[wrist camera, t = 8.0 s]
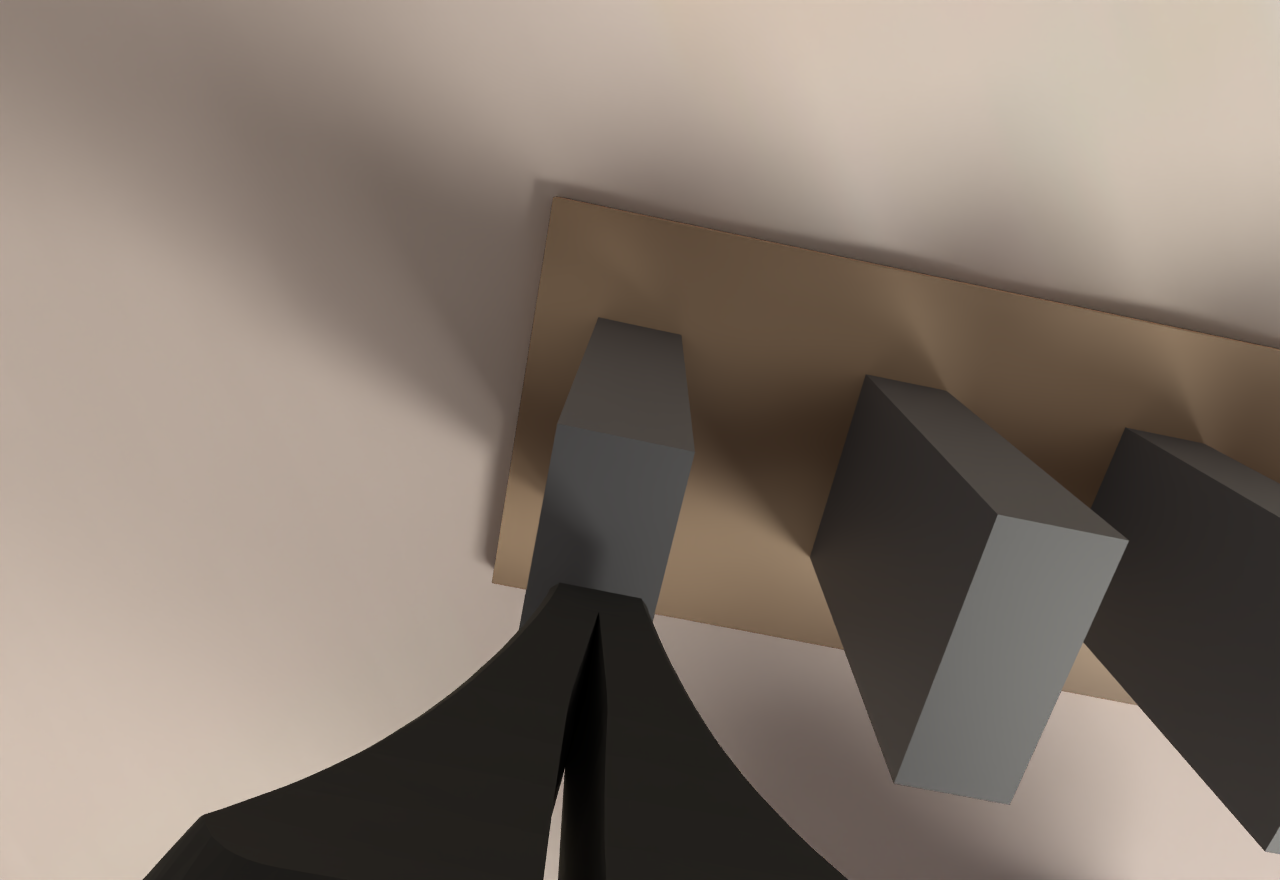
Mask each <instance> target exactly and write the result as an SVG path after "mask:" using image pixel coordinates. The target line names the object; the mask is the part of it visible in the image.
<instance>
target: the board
mask: <svg viewBox="0 0 1280 880" xmlns="http://www.w3.org/2000/svg"><path fill="white" fill-rule="evenodd" d="M598 317H600V318H605V319H609V320H614V321H619V322H623V323H628V324H633V325H637V326H642V327H647V328H652V329H656V330H661V331H666V332H670V333H675V334H680V335H681V336H682V344H683V353H684V362H685V370H686V379H687V388H688V396H689V405H690V413H691V422H692V431H693V439H694V448H695V454H694V458H693V462H692V466H691V470H690V474H689V478H688V482H687V486H686V490H685V494H684V498H683V502H682V506H681V510H680V514H679V518H678V522H677V526H676V530H675V534H674V538H673V542H672V546H671V550H670V554H669V558H668V562H667V566H666V570H665V574H664V578H663V582H662V586H661V590H660V594H659V598H658V602H657V606H656V610H655V614H658V615H663V616H669V617H674V618H679V619H685V620H690V621H695V622H700V623H706V624H711V625H716V626H721V627H727V628H732V629H737V630H743V631H748V632H753V633H758V634H764V635H769V636H774V637H780V638H785V639H790V640H795V641H801V642H806V643H811V644H817V645H822V646H827V647H832V648H838V649H843V650H844V648H843V645H842V643H841V640H840V637H839V635H838V632H837V629H836V626H835V624H834V621H833V618H832V616H831V613H830V610H829V608H828V605H827V602H826V600H825V597H824V594H823V591H822V589H821V586H820V583H819V581H818V578H817V575H816V573H815V570H814V567H813V565H812V562H811V559H810V555H811V552H812V549H813V545H814V542H815V539H816V536H817V532H818V529H819V526H820V522H821V519H822V516H823V513H824V509H825V506H826V503H827V500H828V496H829V493H830V490H831V486H832V483H833V480H834V477H835V473H836V470H837V467H838V464H839V460H840V457H841V454H842V450H843V447H844V444H845V441H846V437H847V434H848V431H849V428H850V424H851V421H852V418H853V415H854V411H855V408H856V405H857V401H858V398H859V395H860V392H861V388H862V385H863V382H864V379H865V375H866V374H867V375H872V376H877V377H882V378H887V379H892V380H897V381H901V382H906V383H911V384H916V385H921V386H926V387H931V388H936V389H940V390H945V391H947V392H949V393H950V394H951V395H952V396H954V397H955V398H956V399H957V400H958V401H960V402H961V403H962V404H963V405H964V406H966V407H967V408H968V409H969V410H971V411H972V412H973V413H974V414H975V415H977V416H978V417H979V418H980V419H982V420H983V421H984V422H985V423H986V424H988V425H989V426H990V427H991V428H993V429H994V430H995V431H996V432H997V433H999V434H1000V435H1001V436H1002V437H1003V438H1005V439H1006V440H1007V441H1008V442H1010V443H1011V444H1012V445H1013V446H1014V447H1016V448H1017V449H1018V450H1019V451H1021V452H1022V453H1023V454H1024V455H1025V456H1027V457H1028V458H1029V459H1030V460H1031V461H1033V462H1034V463H1035V464H1036V465H1038V466H1039V467H1040V468H1041V469H1042V470H1044V471H1045V472H1046V473H1047V474H1049V475H1050V476H1051V477H1052V478H1053V479H1055V480H1056V481H1057V482H1058V483H1060V484H1061V485H1062V486H1063V487H1064V488H1066V489H1067V490H1068V491H1069V492H1070V493H1072V494H1073V495H1074V496H1075V497H1077V498H1078V499H1079V500H1080V501H1081V502H1083V503H1084V504H1085V505H1086V506H1088V507H1089V508H1090V509H1091V507H1092V504H1093V502H1094V500H1095V497H1096V495H1097V493H1098V490H1099V488H1100V486H1101V483H1102V481H1103V479H1104V476H1105V474H1106V472H1107V469H1108V467H1109V465H1110V462H1111V460H1112V458H1113V455H1114V453H1115V451H1116V448H1117V446H1118V443H1119V441H1120V439H1121V436H1122V434H1123V432H1124V429H1125V427H1126V428H1131V429H1136V430H1140V431H1145V432H1150V433H1155V434H1160V435H1165V436H1170V437H1175V438H1180V439H1184V440H1189V441H1194V442H1199V443H1204V444H1206V445H1208V446H1209V447H1211V448H1213V449H1215V450H1217V451H1219V452H1221V453H1223V454H1225V455H1226V456H1228V457H1230V458H1232V459H1234V460H1236V461H1238V462H1240V463H1242V464H1243V465H1245V466H1247V467H1249V468H1251V469H1253V470H1255V471H1257V472H1259V473H1261V474H1262V475H1264V476H1266V477H1268V478H1270V479H1272V480H1274V481H1276V482H1278V483H1279V484H1280V349H1277V348H1272V347H1267V346H1262V345H1258V344H1253V343H1248V342H1244V341H1239V340H1234V339H1229V338H1225V337H1220V336H1215V335H1210V334H1206V333H1201V332H1196V331H1191V330H1187V329H1182V328H1177V327H1173V326H1168V325H1163V324H1158V323H1154V322H1149V321H1144V320H1139V319H1135V318H1130V317H1125V316H1120V315H1116V314H1111V313H1106V312H1102V311H1097V310H1092V309H1087V308H1083V307H1078V306H1073V305H1068V304H1064V303H1059V302H1054V301H1049V300H1045V299H1040V298H1035V297H1031V296H1026V295H1021V294H1016V293H1012V292H1007V291H1002V290H997V289H993V288H988V287H983V286H978V285H974V284H969V283H964V282H959V281H955V280H950V279H945V278H941V277H936V276H931V275H926V274H922V273H917V272H912V271H907V270H903V269H898V268H893V267H888V266H884V265H879V264H874V263H870V262H865V261H860V260H855V259H851V258H846V257H841V256H836V255H832V254H827V253H822V252H817V251H813V250H808V249H803V248H799V247H794V246H789V245H784V244H780V243H775V242H770V241H765V240H761V239H756V238H751V237H746V236H742V235H737V234H732V233H727V232H723V231H718V230H713V229H709V228H704V227H699V226H694V225H690V224H685V223H680V222H675V221H671V220H666V219H661V218H656V217H652V216H647V215H642V214H638V213H633V212H628V211H623V210H619V209H614V208H609V207H604V206H600V205H595V204H590V203H585V202H581V201H576V200H571V199H567V198H562V197H557V196H556V197H553V201H552V208H551V214H550V220H549V226H548V233H547V239H546V245H545V252H544V258H543V264H542V270H541V277H540V283H539V289H538V296H537V302H536V308H535V314H534V321H533V327H532V333H531V340H530V346H529V352H528V358H527V365H526V371H525V377H524V384H523V390H522V396H521V402H520V409H519V415H518V421H517V428H516V434H515V440H514V446H513V453H512V459H511V465H510V472H509V478H508V484H507V490H506V497H505V503H504V509H503V516H502V522H501V528H500V534H499V541H498V547H497V553H496V560H495V566H494V572H493V579H492V583H494V584H500V585H505V586H510V587H516V588H521V589H527V584H528V578H529V573H530V567H531V562H532V557H533V551H534V546H535V541H536V535H537V530H538V524H539V519H540V514H541V508H542V503H543V498H544V492H545V487H546V481H547V476H548V471H549V465H550V460H551V454H552V449H553V444H554V438H555V433H556V428H557V423H558V420H559V418H560V415H561V413H562V410H563V407H564V405H565V402H566V400H567V397H568V394H569V392H570V389H571V387H572V384H573V381H574V379H575V376H576V374H577V371H578V369H579V366H580V363H581V361H582V358H583V356H584V353H585V350H586V348H587V345H588V343H589V340H590V338H591V335H592V332H593V330H594V327H595V325H596V322H597V319H598ZM1061 691H1065V692H1070V693H1075V694H1081V695H1086V696H1091V697H1096V698H1102V699H1107V700H1112V701H1117V702H1123V703H1128V704H1133V705H1137V704H1136V702H1135V701H1134V700H1133V699H1132V698H1131V697H1130V696H1129V694H1128V693H1127V692H1126V691H1125V690H1124V689H1123V688H1122V686H1121V685H1120V684H1119V683H1118V682H1117V681H1116V679H1115V678H1114V677H1113V676H1112V675H1111V674H1110V673H1109V671H1108V670H1107V669H1106V668H1105V667H1104V666H1103V664H1102V663H1101V662H1100V661H1099V660H1098V659H1097V658H1096V656H1095V655H1094V654H1093V653H1092V652H1091V651H1090V650H1089V648H1088V647H1087V646H1086V645H1085V644H1084V643H1083V644H1082V646H1081V648H1080V650H1079V653H1078V655H1077V657H1076V659H1075V661H1074V664H1073V666H1072V668H1071V670H1070V673H1069V675H1068V677H1067V679H1066V681H1065V684H1064V686H1063V688H1062V690H1061Z"/></svg>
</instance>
